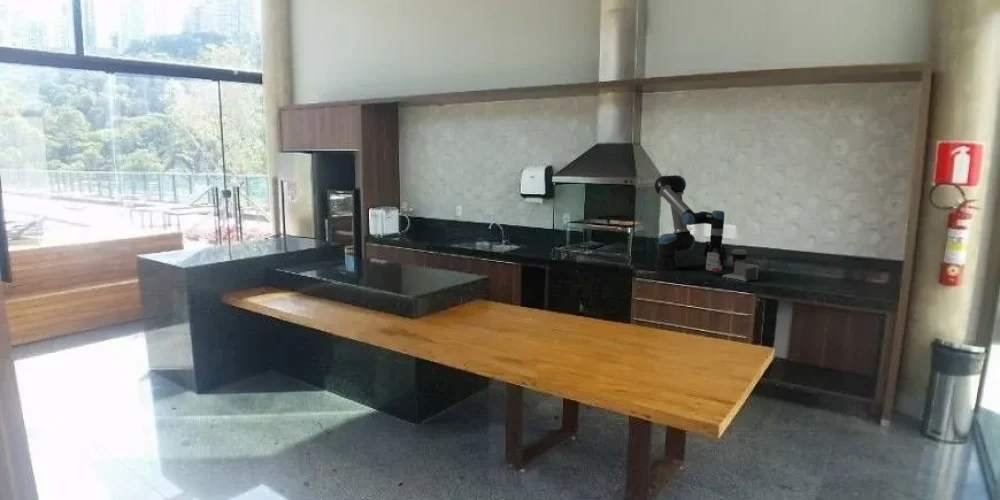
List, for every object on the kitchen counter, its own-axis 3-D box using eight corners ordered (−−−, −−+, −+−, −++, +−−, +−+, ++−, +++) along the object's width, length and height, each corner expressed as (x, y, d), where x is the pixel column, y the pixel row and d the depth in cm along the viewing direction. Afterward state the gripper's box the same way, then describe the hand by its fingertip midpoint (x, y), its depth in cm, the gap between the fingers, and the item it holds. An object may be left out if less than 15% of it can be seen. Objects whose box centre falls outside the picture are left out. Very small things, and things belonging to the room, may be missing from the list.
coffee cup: (730, 273, 387) (731, 250, 384) (730, 270, 396) (732, 248, 393) (745, 274, 384) (747, 251, 381) (745, 271, 392) (747, 249, 389)
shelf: (722, 277, 375) (723, 263, 373) (735, 274, 382) (736, 261, 380) (745, 282, 362) (746, 268, 360) (757, 279, 369) (758, 265, 367)
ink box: (721, 271, 381) (723, 253, 379) (717, 272, 378) (718, 254, 376) (709, 268, 388) (711, 251, 385) (705, 269, 385) (707, 252, 382)
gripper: (699, 232, 384) (696, 265, 389) (727, 237, 367) (724, 272, 372) (706, 231, 389) (703, 264, 393) (734, 236, 371) (731, 270, 376)
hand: (713, 268), depth 383 cm, fingers closed on ink box, 9 cm apart
